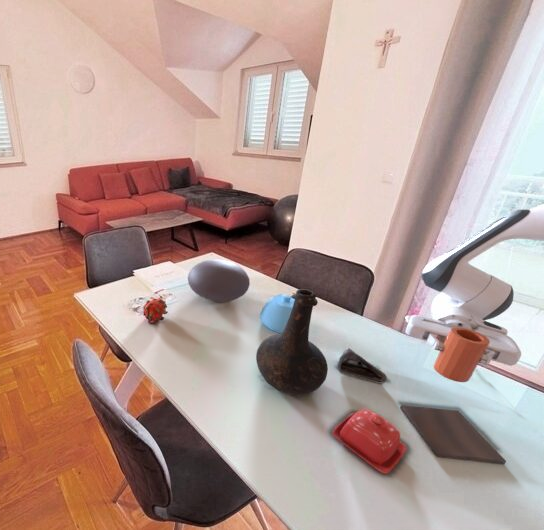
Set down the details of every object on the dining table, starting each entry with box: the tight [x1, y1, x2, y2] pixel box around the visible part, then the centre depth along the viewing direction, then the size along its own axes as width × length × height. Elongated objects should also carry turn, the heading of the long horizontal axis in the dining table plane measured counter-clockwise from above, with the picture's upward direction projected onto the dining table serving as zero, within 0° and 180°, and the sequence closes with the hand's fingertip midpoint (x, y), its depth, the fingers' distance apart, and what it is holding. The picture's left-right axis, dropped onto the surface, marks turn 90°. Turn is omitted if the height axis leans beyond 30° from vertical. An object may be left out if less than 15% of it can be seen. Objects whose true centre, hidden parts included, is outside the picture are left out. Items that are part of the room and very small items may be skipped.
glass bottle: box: [255, 288, 329, 396], centre depth 82 cm, size 18×18×28 cm
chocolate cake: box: [337, 347, 388, 385], centre depth 92 cm, size 10×7×12 cm
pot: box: [433, 327, 490, 383], centre depth 73 cm, size 6×6×11 cm
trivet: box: [399, 404, 507, 465], centre depth 73 cm, size 13×13×1 cm
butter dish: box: [332, 408, 407, 475], centre depth 69 cm, size 12×12×8 cm
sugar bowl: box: [259, 293, 295, 334], centre depth 111 cm, size 15×15×12 cm
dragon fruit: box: [142, 297, 169, 324], centre depth 115 cm, size 8×8×12 cm
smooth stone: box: [187, 259, 251, 303], centre depth 129 cm, size 25×25×15 cm
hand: (461, 355), depth 73 cm, fingers closed on pot, 6 cm apart
